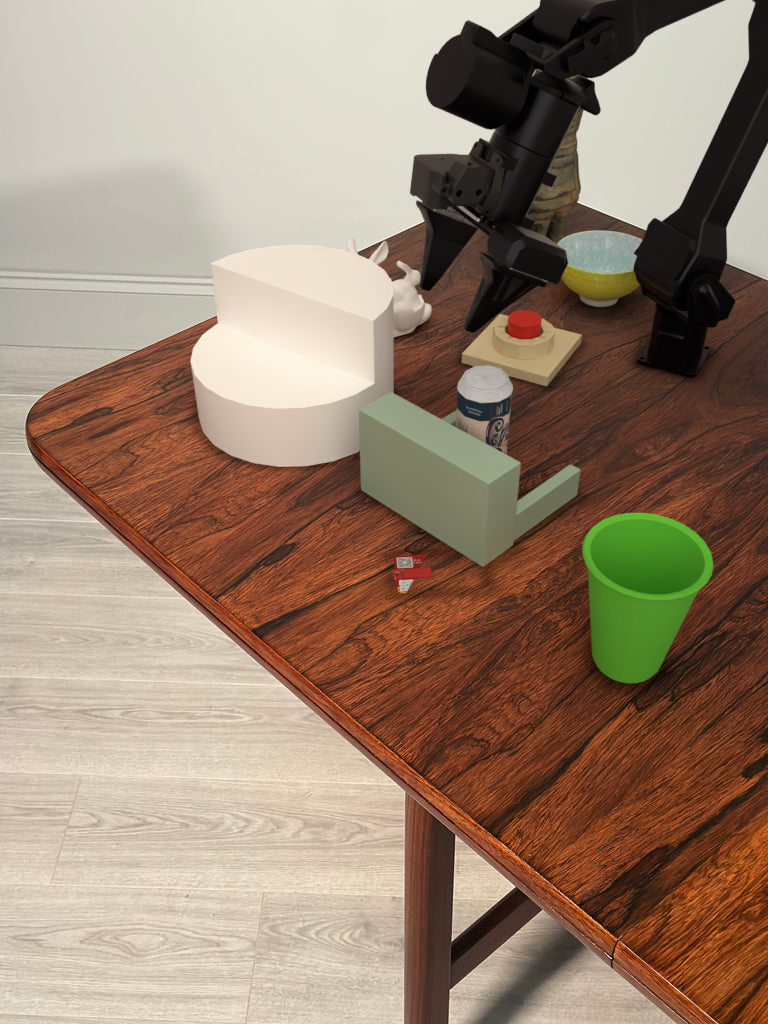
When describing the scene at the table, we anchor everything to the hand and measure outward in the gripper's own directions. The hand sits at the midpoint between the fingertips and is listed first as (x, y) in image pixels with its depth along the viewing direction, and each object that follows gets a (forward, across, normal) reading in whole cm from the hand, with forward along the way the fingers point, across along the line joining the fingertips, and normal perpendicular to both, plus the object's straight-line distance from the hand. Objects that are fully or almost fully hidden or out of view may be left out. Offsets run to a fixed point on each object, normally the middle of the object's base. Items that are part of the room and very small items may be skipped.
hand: (445, 309), depth 96 cm
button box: (+5, -10, +19) cm, 22 cm away
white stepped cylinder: (+17, -10, -4) cm, 20 cm away
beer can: (+13, +9, +6) cm, 17 cm away
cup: (+13, +33, +6) cm, 36 cm away
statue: (-2, -32, +31) cm, 44 cm away
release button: (+3, -10, +18) cm, 20 cm away
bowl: (-2, -17, +32) cm, 36 cm away
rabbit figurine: (+10, -22, +8) cm, 26 cm away
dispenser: (+13, +10, +4) cm, 17 cm away
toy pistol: (+17, +18, -2) cm, 25 cm away
